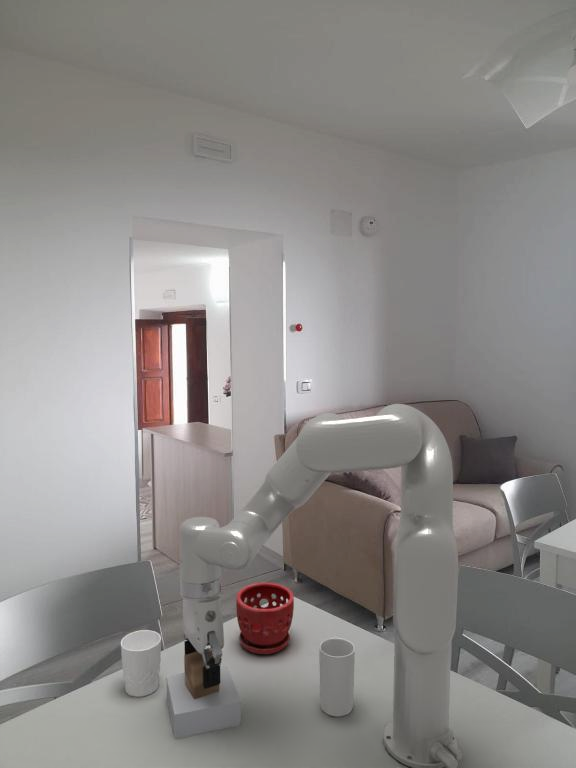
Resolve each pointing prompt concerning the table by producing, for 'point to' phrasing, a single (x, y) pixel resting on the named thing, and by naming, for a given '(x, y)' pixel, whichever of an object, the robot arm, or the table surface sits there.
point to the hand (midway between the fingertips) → (202, 672)
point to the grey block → (202, 706)
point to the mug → (336, 676)
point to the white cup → (141, 662)
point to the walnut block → (196, 675)
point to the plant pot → (264, 617)
